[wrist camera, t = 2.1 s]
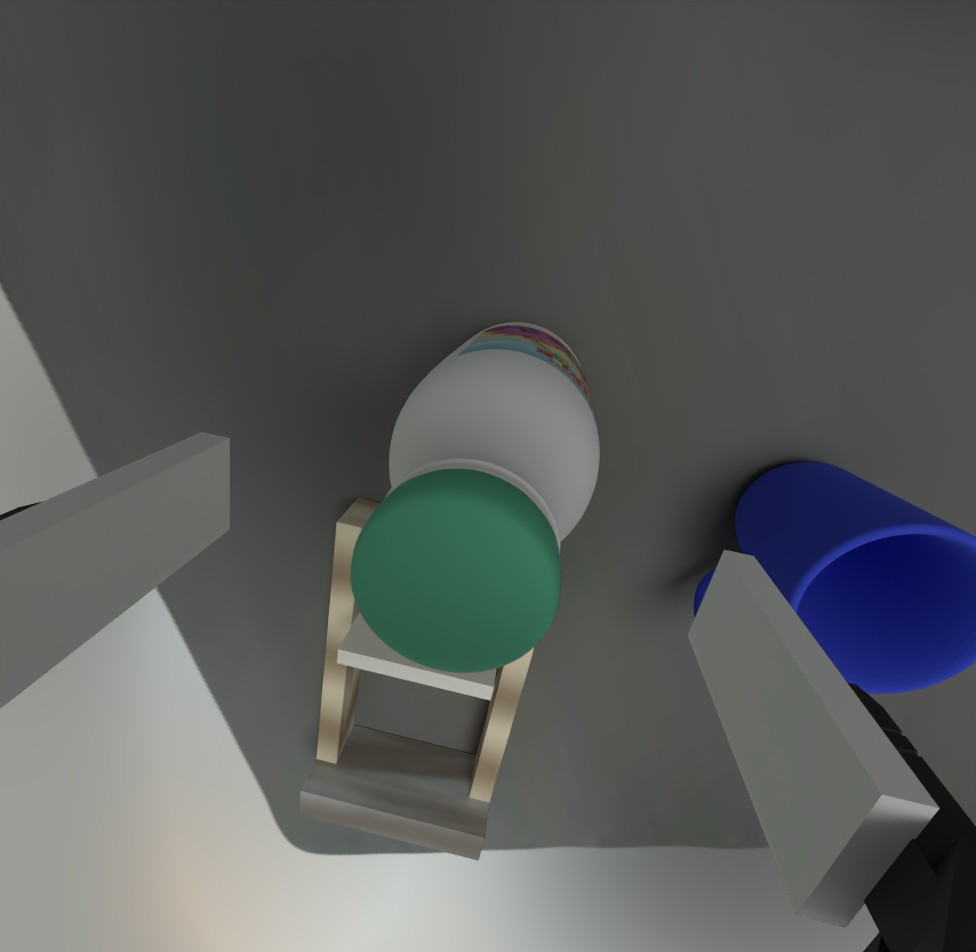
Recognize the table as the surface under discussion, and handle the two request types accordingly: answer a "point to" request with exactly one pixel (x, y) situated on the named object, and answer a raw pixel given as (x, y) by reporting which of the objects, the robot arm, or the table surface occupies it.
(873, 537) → the mug
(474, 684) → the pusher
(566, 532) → the milk bottle
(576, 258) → the table surface
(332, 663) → the lane
